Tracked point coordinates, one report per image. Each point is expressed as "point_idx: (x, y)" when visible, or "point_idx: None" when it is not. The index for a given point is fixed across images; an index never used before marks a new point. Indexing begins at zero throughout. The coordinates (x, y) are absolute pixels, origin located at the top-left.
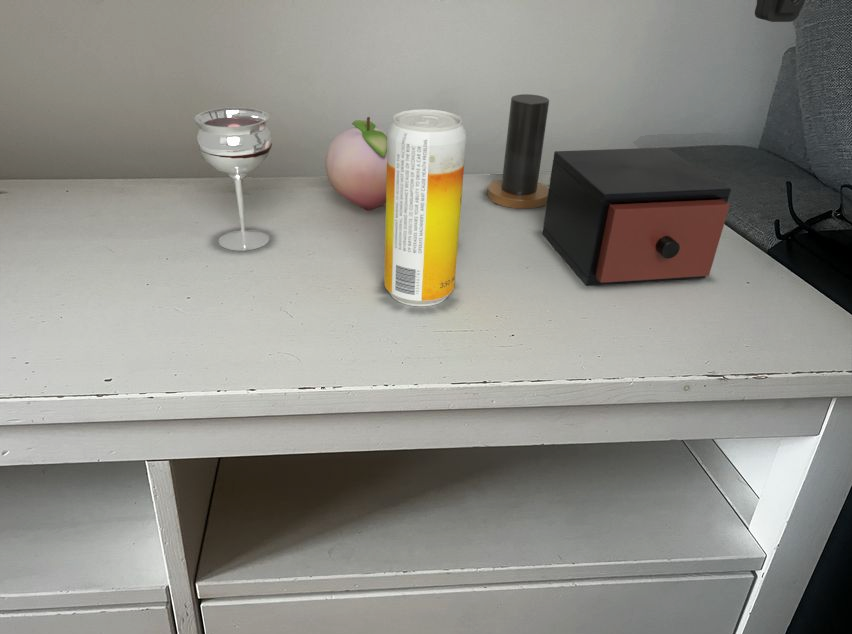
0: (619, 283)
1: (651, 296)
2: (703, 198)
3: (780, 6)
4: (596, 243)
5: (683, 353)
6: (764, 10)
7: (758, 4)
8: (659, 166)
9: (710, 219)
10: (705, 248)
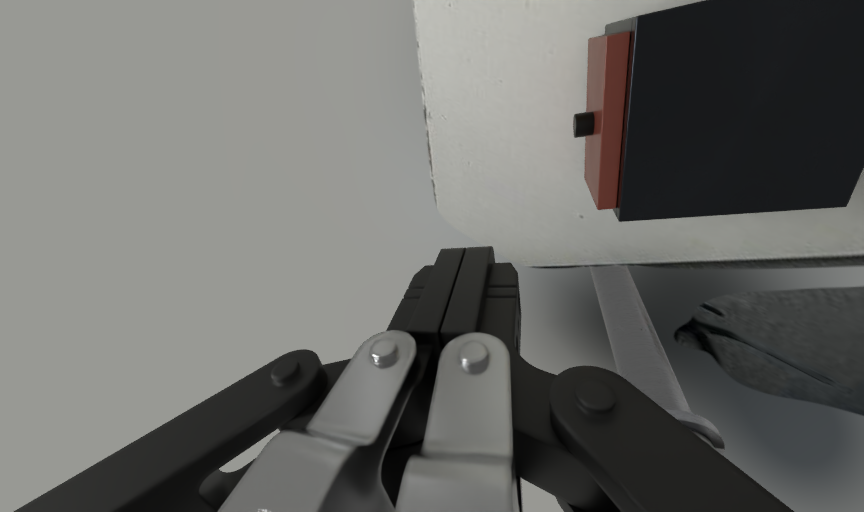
0: None
1: (567, 105)
2: (619, 184)
3: (424, 272)
4: (617, 24)
5: (457, 100)
6: (456, 253)
7: (483, 256)
8: (745, 159)
9: (595, 183)
10: (589, 175)
